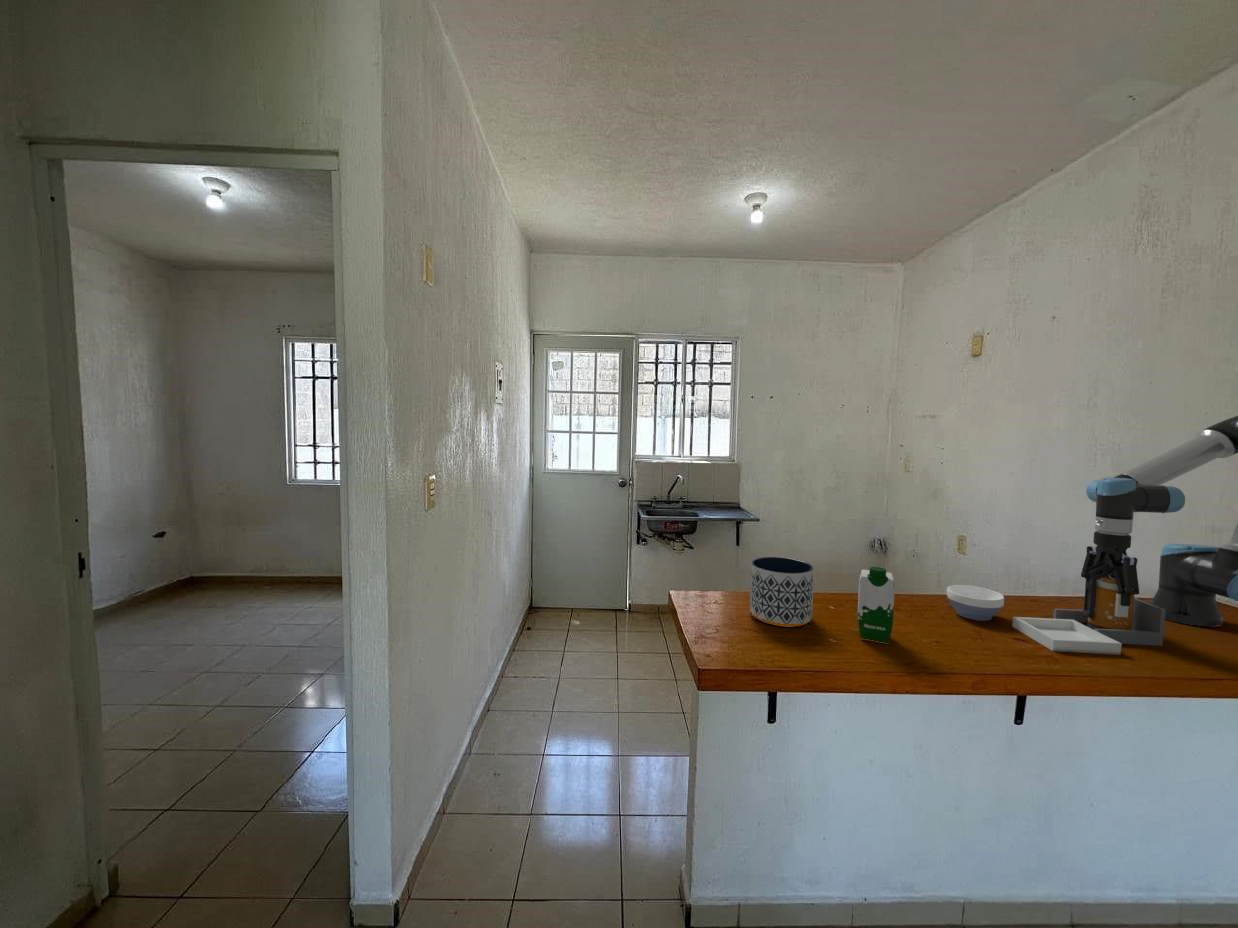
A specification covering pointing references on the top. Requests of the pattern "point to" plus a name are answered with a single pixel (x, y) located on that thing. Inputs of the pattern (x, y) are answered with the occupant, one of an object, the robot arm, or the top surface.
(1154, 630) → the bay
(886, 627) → the milk carton
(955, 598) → the bowl
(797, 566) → the planter
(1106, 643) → the tray
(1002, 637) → the top surface
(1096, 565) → the canister
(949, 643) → the top surface
